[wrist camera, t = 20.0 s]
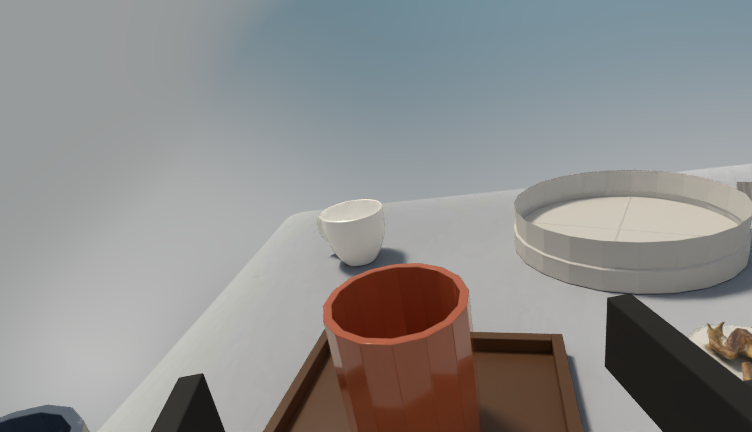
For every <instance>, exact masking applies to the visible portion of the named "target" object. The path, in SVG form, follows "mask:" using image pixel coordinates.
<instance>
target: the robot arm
mask: <svg viewBox="0 0 752 432" xmlns="http://www.w3.org/2000/svg"><path fill="white" fill-rule="evenodd" d="M605 367H606V368H607V369H608V371H609V372H610V373H611V374H612V375H613V376H614V377H615V378H616V380H617V381H618V382H619V383H620V384H621V385H622V386H623V387H624V389H625V390H626V391H627V392H628V393H629V394H630V395H631V396H632V398H633V399H634V400H635V401H636V402H637V403H638V404H639V405H640V407H641V408H642V409H643V410H644V411H645V412H646V413H647V414H648V416H649V417H650V418H651V419H652V420H653V421H654V422H655V423H656V425H657V426H658V427H659V428H660V429H661V430H662V431H663V432H752V379H751V380H746V381H743V380H741V379H740V378H739V377H737V376H736V375H735V374H733V373H732V372H731V371H730V370H728V369H727V368H726V367H724V366H723V365H722V364H721V363H719V362H718V361H717V360H715V359H714V358H713V357H712V356H710V355H709V354H708V353H706V352H705V351H704V350H703V349H701V348H700V347H699V346H697V345H696V344H695V343H694V342H692V341H691V340H690V339H688V338H687V337H686V336H684V335H683V334H682V333H681V332H679V331H678V330H677V329H675V328H674V327H673V326H672V325H670V324H669V323H668V322H666V321H665V320H664V319H663V318H661V317H660V316H659V315H657V314H656V313H655V312H654V311H652V310H651V309H650V308H648V307H647V306H646V305H645V304H643V303H642V302H641V301H639V300H638V299H637V298H636V297H634V296H633V295H632V294H626V295H620V296H615V297H609V298H607V323H606V350H605ZM151 432H225V430H224V427H223V425H222V422H221V420H220V417H219V414H218V412H217V409H216V406H215V404H214V401H213V398H212V396H211V393H210V390H209V388H208V385H207V382H206V380H205V377H204V374H203V373H202V374H197V375H191V376H186V377H181V378H179V379H178V381H177V382H176V384H175V386H174V388H173V390H172V392H171V394H170V396H169V398H168V400H167V402H166V404H165V406H164V407H163V409H162V411H161V413H160V415H159V417H158V419H157V421H156V423H155V425H154V427H153V429H152V431H151Z"/></svg>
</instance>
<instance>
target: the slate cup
mask: <svg viewBox="0 0 752 432" xmlns="http://www.w3.org/2000/svg"><path fill="white" fill-rule="evenodd" d="M0 432H89V430H88V428H87V426H86V424H85V423H84V421H83V419H82V418H81V417H80V416H79V415H78V414H77V412H76V411H75V410H74V409H73V408H71V407H64V406H55V405H45V406H39V407H35V408H30V409H26V410H21V411H17V412H14V413H11V414H8V415H6V416H3V417H1V418H0Z"/></svg>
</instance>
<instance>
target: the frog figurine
mask: <svg viewBox="0 0 752 432" xmlns="http://www.w3.org/2000/svg"><path fill="white" fill-rule="evenodd" d="M723 324H724V322H722V323H720V324H719V325H718V326H717V325H710V324H708V323H707V324H705V325H704V326H703V327H700V328H699V329H697V330H694V331H693V332H692V333H691V335H690V336H689V338H688V339H690V340H691V341H692V342H694V343H695V344H696V345H697V346H699V347H700V348H701V349H703V350H704V351H705V352H706V353H708V354H709V355H710V356H712V357H713V358H714V359H715V360H717V361H718V362H719V363H721V364H722V365H723V366H724V367H726V368H727V369H728V370H730V371H731V372H732V373H733V374H735V375H736V376H737V377H739V378H740V379H741V380H743V381H746V380H751V379H752V327H738V326H723Z"/></svg>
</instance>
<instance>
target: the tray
mask: <svg viewBox="0 0 752 432" xmlns="http://www.w3.org/2000/svg"><path fill="white" fill-rule="evenodd" d="M473 334H474V344H475V353H476V363H477V373H478V382H479V392H480V401H481V411H482V432H583V427H582V423H581V418H580V414H579V409H578V405H577V400H576V396H575V391H574V387H573V382H572V377H571V373H570V368H569V364H568V359H567V355H566V350H565V346H564V341H563V337H562V334H551V335H550V334H533V333H492V332H473ZM263 432H351V431H350V427H349V423H348V419H347V415H346V411H345V407H344V403H343V398H342V394H341V390H340V386H339V382H338V378H337V374H336V370H335V366H334V362H333V358H332V354H331V350H330V346H329V342H328V338H327V334H326V330H324V331H323V333H322V335H321V336H320V338H319V339H318V341H317V343H316V344H315V346H314V348H313V349H312V351H311V353H310V354H309V356H308V358H307V359H306V361H305V363H304V364H303V366H302V368H301V369H300V371H299V373H298V374H297V376H296V378H295V379H294V381H293V383H292V384H291V386H290V388H289V389H288V391H287V393H286V394H285V396H284V398H283V399H282V401H281V403H280V404H279V406H278V408H277V409H276V411H275V413H274V414H273V416H272V418H271V419H270V421H269V423H268V424H267V426H266V428H265V429H264V431H263Z"/></svg>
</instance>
